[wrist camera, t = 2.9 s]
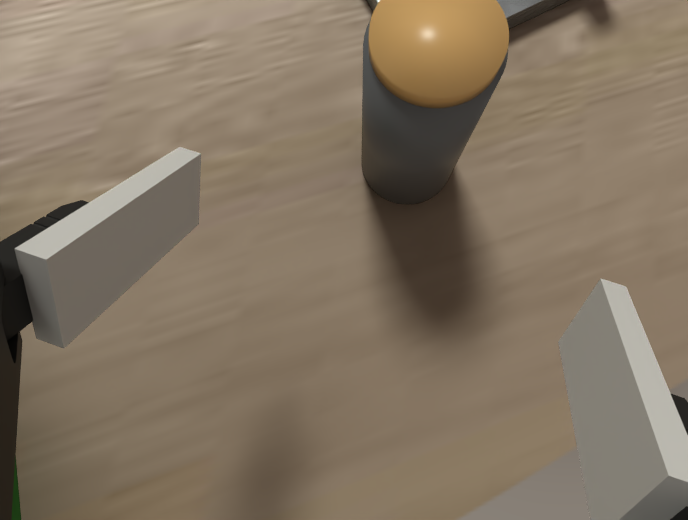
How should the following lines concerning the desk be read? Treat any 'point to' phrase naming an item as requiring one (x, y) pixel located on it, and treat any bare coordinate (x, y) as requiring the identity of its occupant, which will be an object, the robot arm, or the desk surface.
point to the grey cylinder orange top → (426, 89)
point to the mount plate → (515, 9)
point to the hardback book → (16, 498)
